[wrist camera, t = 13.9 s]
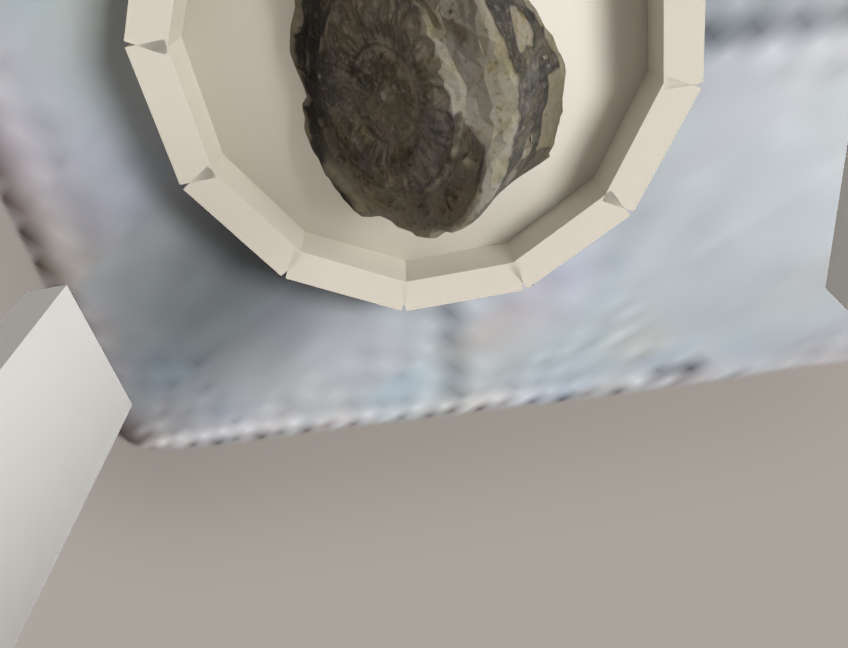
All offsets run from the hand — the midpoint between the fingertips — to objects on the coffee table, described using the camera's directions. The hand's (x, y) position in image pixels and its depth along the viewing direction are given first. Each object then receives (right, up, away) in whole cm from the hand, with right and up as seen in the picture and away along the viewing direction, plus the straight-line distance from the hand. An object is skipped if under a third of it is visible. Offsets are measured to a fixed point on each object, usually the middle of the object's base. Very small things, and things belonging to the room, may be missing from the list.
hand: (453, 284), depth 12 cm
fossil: (-1, +10, +16) cm, 19 cm away
